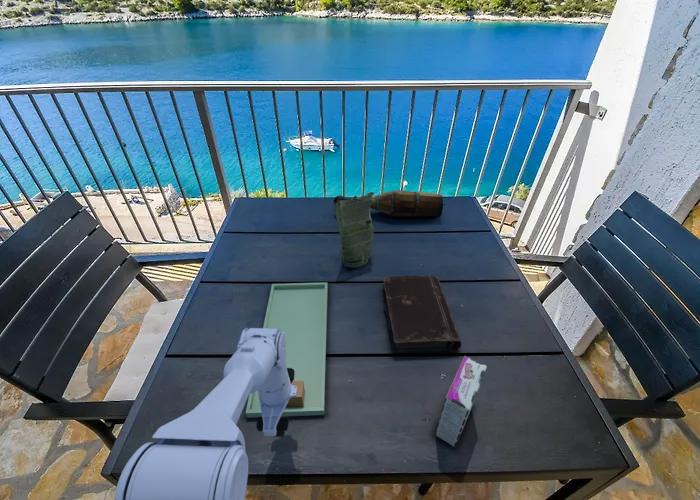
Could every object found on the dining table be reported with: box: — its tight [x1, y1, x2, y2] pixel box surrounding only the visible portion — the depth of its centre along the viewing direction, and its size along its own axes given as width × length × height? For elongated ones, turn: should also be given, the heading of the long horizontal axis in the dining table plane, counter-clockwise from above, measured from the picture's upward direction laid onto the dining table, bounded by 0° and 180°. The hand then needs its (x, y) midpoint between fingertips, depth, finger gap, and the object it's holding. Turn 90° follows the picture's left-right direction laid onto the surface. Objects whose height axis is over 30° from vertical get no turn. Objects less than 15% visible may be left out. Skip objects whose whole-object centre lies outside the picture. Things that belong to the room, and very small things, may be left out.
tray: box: [245, 282, 329, 419], centre depth 95 cm, size 42×18×2 cm, turn 2°
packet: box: [286, 381, 305, 407], centre depth 81 cm, size 4×8×4 cm, turn 91°
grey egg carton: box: [434, 355, 488, 448], centre depth 73 cm, size 11×5×16 cm, turn 147°
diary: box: [382, 275, 462, 354], centre depth 101 cm, size 19×25×5 cm
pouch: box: [333, 191, 375, 269], centre depth 116 cm, size 11×12×25 cm
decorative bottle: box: [332, 189, 446, 218], centre depth 143 cm, size 11×11×45 cm
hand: (281, 415), depth 70 cm, fingers open, 7 cm apart
